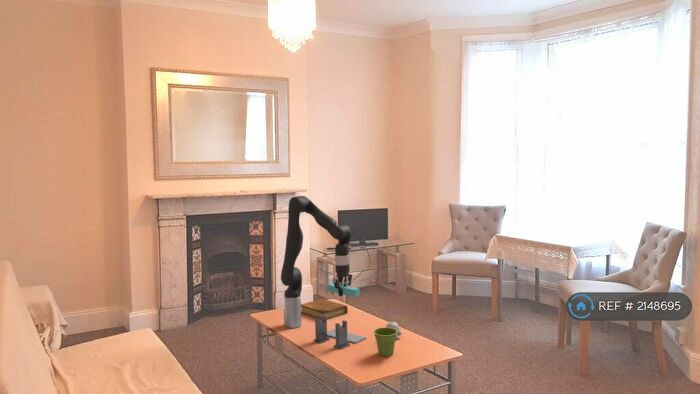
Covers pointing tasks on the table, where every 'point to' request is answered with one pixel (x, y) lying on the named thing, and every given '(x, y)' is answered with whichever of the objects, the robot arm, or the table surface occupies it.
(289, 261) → the robot arm
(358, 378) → the table surface
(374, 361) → the table surface
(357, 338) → the rubber mat
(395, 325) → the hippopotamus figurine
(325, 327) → the bracket stand
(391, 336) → the plant pot
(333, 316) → the diary
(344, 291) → the rail bar
